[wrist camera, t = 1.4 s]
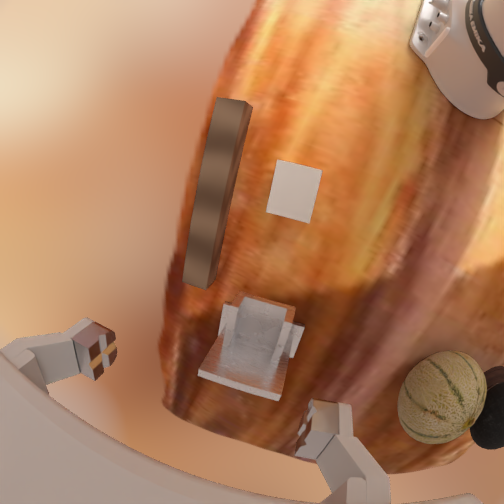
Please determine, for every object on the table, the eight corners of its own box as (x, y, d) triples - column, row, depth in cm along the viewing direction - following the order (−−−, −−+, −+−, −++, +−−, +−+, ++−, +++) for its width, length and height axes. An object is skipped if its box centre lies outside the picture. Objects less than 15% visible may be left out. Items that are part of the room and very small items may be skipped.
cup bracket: (229, 277, 39) (195, 320, 28) (313, 300, 38) (308, 354, 27) (219, 333, 43) (189, 383, 32) (293, 355, 41) (282, 412, 30)
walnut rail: (227, 103, 33) (216, 97, 29) (253, 107, 32) (245, 101, 28) (194, 271, 41) (182, 281, 37) (216, 278, 40) (205, 290, 37)
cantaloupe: (374, 381, 40) (382, 454, 26) (436, 317, 34) (473, 383, 20) (424, 406, 39) (439, 468, 25) (481, 353, 34) (513, 411, 20)
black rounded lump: (477, 364, 34) (507, 422, 20) (520, 359, 31) (550, 406, 18) (449, 413, 38) (465, 469, 24) (492, 406, 36) (512, 453, 22)
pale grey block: (281, 160, 33) (277, 159, 29) (322, 170, 32) (322, 170, 29) (271, 206, 35) (265, 212, 31) (310, 216, 34) (309, 223, 31)
